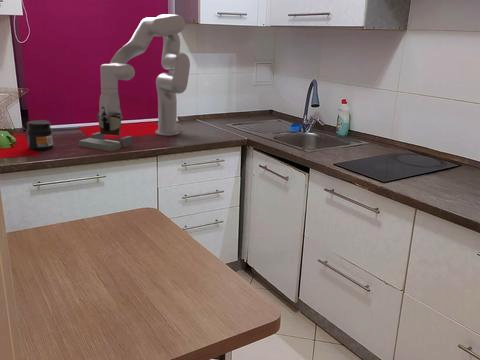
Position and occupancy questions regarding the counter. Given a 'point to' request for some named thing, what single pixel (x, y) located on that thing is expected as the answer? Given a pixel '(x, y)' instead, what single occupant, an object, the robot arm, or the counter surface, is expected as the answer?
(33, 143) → the supplement container
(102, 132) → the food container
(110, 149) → the grey piece
